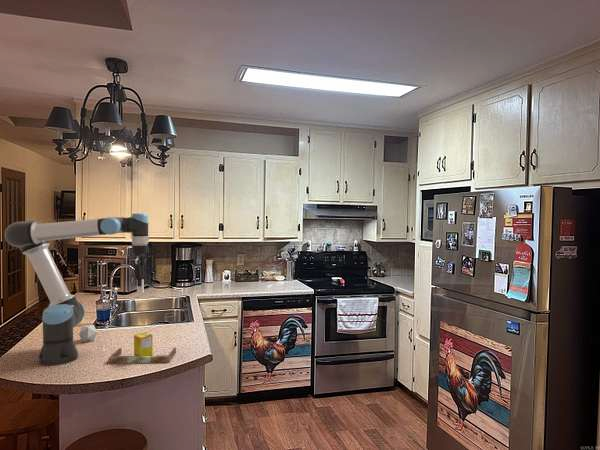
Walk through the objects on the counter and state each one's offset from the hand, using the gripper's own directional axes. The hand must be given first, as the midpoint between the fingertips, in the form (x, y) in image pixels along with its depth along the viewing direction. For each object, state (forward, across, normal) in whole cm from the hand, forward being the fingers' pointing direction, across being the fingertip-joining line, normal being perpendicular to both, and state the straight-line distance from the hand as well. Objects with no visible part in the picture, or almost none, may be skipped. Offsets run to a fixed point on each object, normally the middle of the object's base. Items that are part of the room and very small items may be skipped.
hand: (140, 292), depth 201 cm
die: (+27, +9, +29) cm, 40 cm away
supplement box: (+27, -19, -7) cm, 33 cm away
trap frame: (+26, -18, -7) cm, 32 cm away
